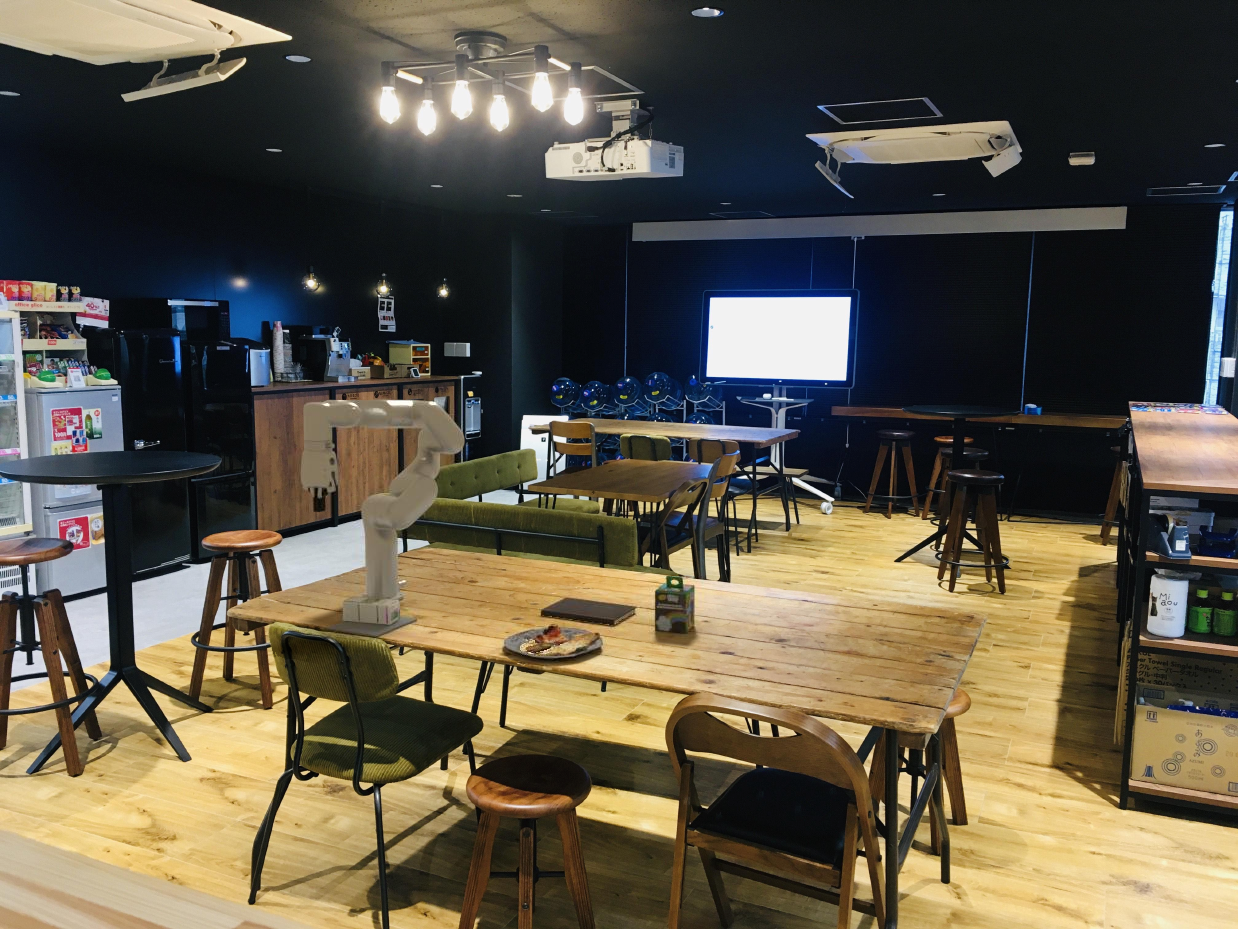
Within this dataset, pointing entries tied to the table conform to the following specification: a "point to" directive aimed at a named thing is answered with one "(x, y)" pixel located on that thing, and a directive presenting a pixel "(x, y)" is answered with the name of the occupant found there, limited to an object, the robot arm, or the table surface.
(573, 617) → the hardcover book
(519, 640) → the food plate
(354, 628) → the rubber mat
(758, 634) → the table surface
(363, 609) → the syrup box
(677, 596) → the chalk box
